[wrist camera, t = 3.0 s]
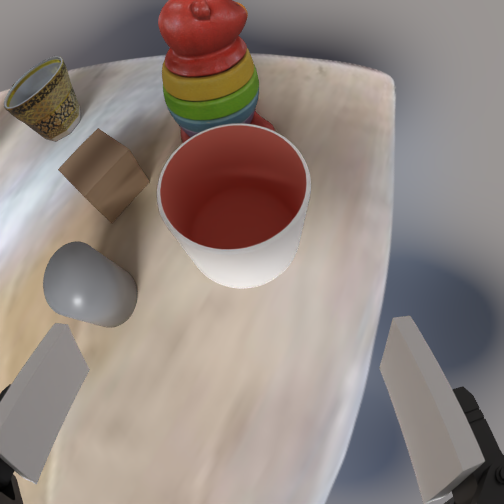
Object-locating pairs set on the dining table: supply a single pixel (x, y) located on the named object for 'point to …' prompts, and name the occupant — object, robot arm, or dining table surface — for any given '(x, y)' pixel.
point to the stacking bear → (208, 66)
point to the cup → (236, 202)
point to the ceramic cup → (45, 100)
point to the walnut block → (105, 174)
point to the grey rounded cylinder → (89, 286)
